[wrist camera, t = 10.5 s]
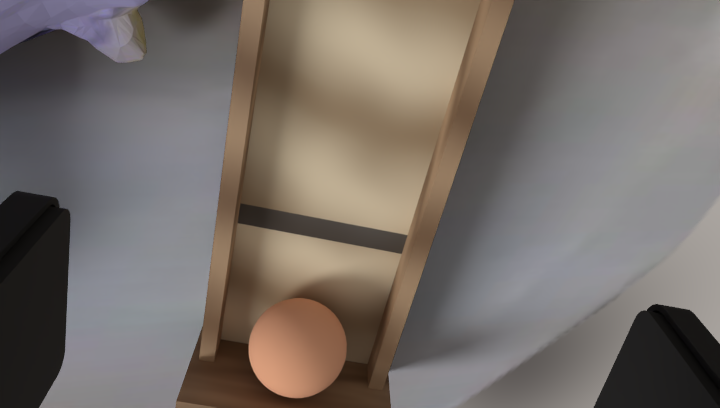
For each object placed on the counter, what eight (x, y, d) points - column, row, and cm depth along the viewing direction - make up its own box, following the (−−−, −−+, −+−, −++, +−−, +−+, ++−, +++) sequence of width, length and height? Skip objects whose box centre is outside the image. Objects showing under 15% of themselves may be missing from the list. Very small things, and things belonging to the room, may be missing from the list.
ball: (261, 281, 36) (255, 302, 31) (351, 297, 37) (359, 320, 32) (244, 370, 37) (235, 404, 32) (334, 385, 37) (339, 421, 32)
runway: (262, -84, 30) (240, -80, 24) (497, -29, 31) (531, -12, 25) (200, 342, 39) (174, 420, 33) (382, 372, 40) (387, 453, 34)
